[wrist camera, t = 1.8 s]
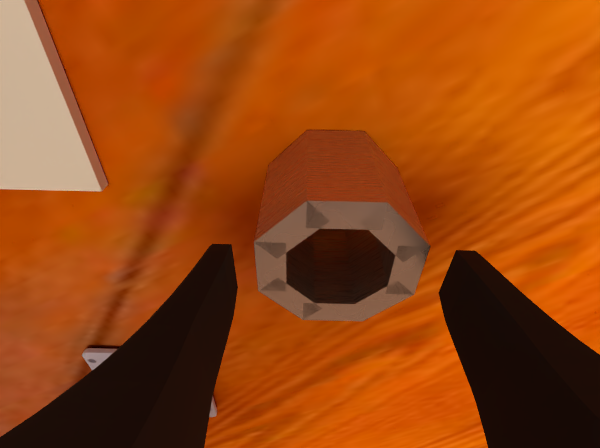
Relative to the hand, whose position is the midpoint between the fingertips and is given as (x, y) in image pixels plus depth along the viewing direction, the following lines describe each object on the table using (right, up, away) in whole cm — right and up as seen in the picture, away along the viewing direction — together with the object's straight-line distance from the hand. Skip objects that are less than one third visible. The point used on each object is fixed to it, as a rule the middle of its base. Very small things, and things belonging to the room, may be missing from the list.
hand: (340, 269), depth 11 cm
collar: (0, +3, +4) cm, 5 cm away
